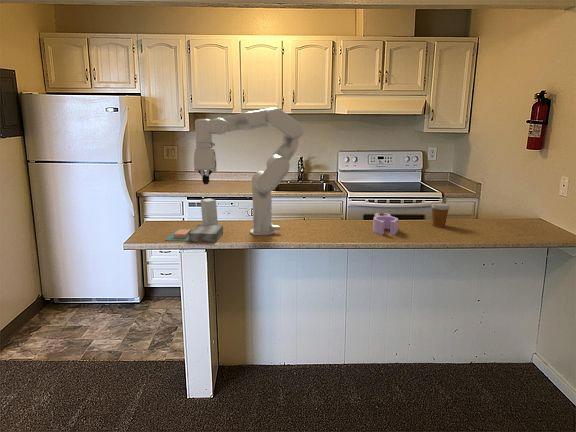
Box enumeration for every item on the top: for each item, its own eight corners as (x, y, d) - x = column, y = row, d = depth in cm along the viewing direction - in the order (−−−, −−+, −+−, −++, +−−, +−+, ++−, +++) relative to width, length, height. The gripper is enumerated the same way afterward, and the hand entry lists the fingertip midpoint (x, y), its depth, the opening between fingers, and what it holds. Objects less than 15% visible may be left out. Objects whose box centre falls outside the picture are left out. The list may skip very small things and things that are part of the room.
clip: (369, 225, 246) (369, 212, 245) (392, 225, 246) (392, 213, 244) (375, 235, 227) (376, 222, 225) (400, 235, 227) (401, 222, 225)
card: (179, 229, 228) (179, 233, 228) (173, 234, 219) (173, 238, 220) (190, 229, 227) (191, 233, 228) (185, 234, 219) (186, 238, 219)
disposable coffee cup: (451, 226, 242) (453, 205, 239) (437, 228, 239) (439, 206, 236) (440, 222, 251) (441, 201, 248) (426, 224, 247) (427, 203, 245)
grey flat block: (223, 232, 230) (223, 225, 229) (216, 241, 215) (215, 233, 214) (198, 232, 231) (198, 224, 230) (189, 241, 215) (188, 233, 215)
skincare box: (218, 227, 241) (217, 200, 237) (207, 229, 237) (206, 201, 234) (211, 224, 247) (210, 197, 244) (201, 225, 244) (200, 198, 241)
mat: (197, 232, 231) (197, 231, 231) (188, 241, 216) (188, 240, 215) (175, 231, 232) (175, 231, 232) (164, 240, 216) (164, 240, 216)
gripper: (221, 145, 215) (223, 182, 220) (190, 145, 216) (193, 182, 221) (217, 146, 208) (219, 185, 212) (186, 146, 209) (188, 185, 214)
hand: (206, 183), depth 217 cm, fingers closed
